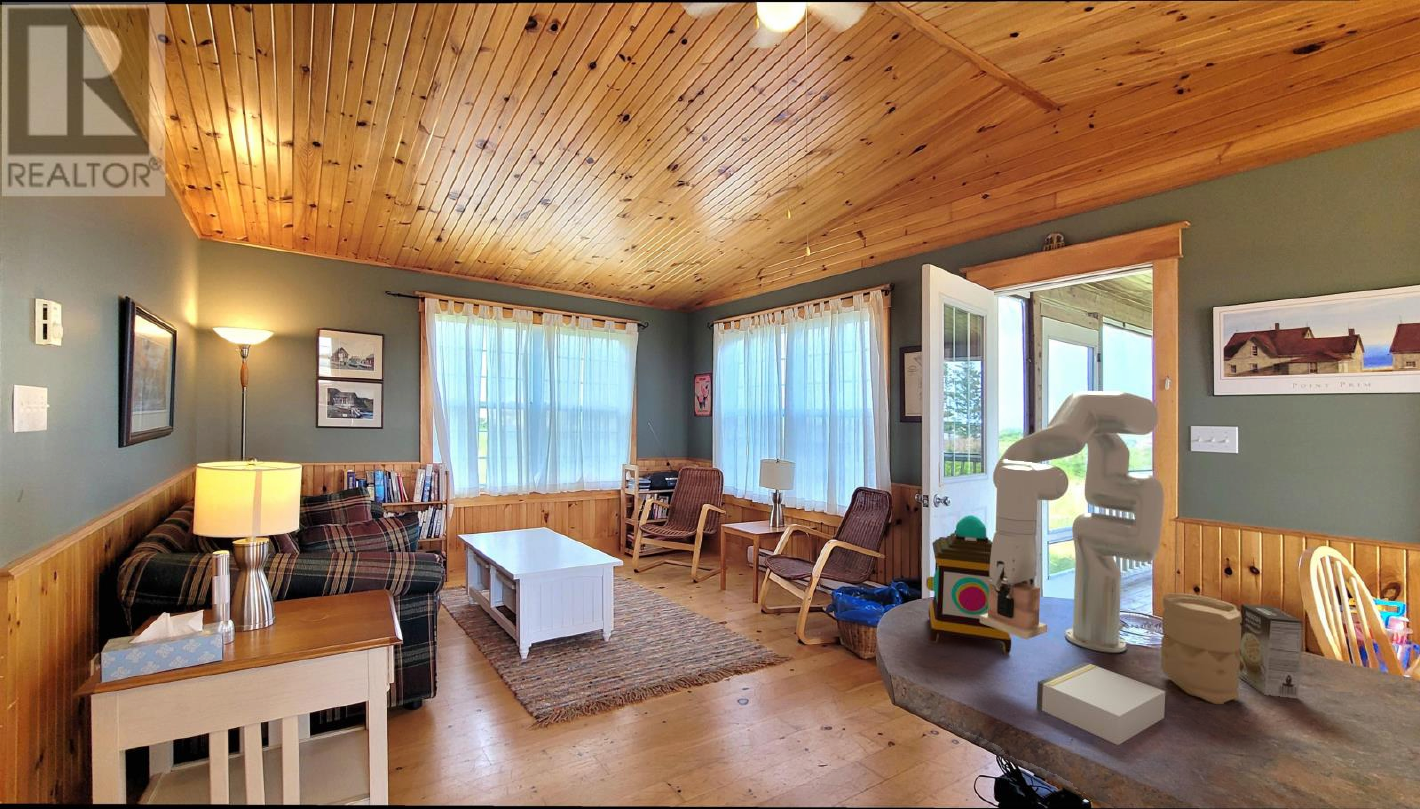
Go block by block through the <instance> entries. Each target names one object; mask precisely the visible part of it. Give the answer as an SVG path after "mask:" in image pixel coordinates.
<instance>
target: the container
mask: <svg viewBox="0 0 1420 809" xmlns="http://www.w3.org/2000/svg"><path fill="white" fill-rule="evenodd" d="M1162 598H1163V599H1162V600H1163V601H1162V602H1163V604H1162V605H1163V608H1164V610H1163V612H1162V621H1161V623H1162V625H1161V627H1162V628H1161V629H1162V633H1163V636H1162V638H1161V643H1160V645H1161V647H1160V648H1161V649H1160V669H1161V671H1162V673H1163V674H1164V675H1165V676H1167V677H1168V678H1169V680H1171V682H1173V683H1174V684H1175V685H1176V686H1178V687H1179V688H1180V689H1181V690H1182V691H1184V692H1185V693H1186V694H1188V695H1190V696H1193V697H1197V698H1200V699H1203V700H1205V701H1206V702H1209V703H1211V704H1213V705H1224V704H1225V703H1228V702H1229V701H1234V702H1238V701H1239V691H1238V688H1239V683H1240V677H1239V667H1240V646H1241V625H1240V623H1241V622H1242V617H1241V611H1239V610H1238V607H1237V606H1236V605H1234V604H1232V603H1230V602H1227V601H1223V600H1219V599H1216V598H1212V597H1207V596H1203V595H1197V594H1189V593H1176V592H1175V593H1174V592H1172V593H1166V594H1163V597H1162Z"/></svg>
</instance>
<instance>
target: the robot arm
mask: <svg viewBox="0 0 1420 809" xmlns="http://www.w3.org/2000/svg"><path fill="white" fill-rule="evenodd" d="M1158 421H1159V411H1158V408H1157V407H1156V404H1155V403H1154V402H1153V401H1152V400H1150V399H1149V398H1147V397H1144V396H1143V397H1142V396H1139V395H1136V394H1133V393H1128V392H1124V391H1106V390H1105V391H1101V390H1099V391H1097V390H1095V391H1091V390H1085V391H1084V390H1083V391H1077V392H1074V393H1071V394H1070V395H1068V397H1067V398H1066V399H1065V400H1064V401H1063V402H1062V404H1061V405H1060V407H1059V408H1058V410H1057V411H1056V413H1055V414H1054V416H1053V417H1052V419H1051V420H1050V422H1049V423H1048V424H1047V426H1046V427H1044V428H1043V429H1040V430H1038V431H1035V432H1033V433H1031V434H1029V435H1027V436H1024V437H1023V438H1021V439H1020V438H1019V439H1018V440H1017V441H1015V442H1013V443H1012V444H1011V445H1009V447H1008V448H1007V449H1005V452H1004V453H1003V455H1002V456H1001V457H1000V459H999V460H998V462H997V464H996V465H995V467H994V470H993V474H992V481H993V484H994V487H995V489H996V501H995V502H996V504H995V505H996V506H995V508H996V510H995V511H996V512H995V532H994V535H993V538H992V541H991V542H992V548H991V557H990V570H989V575H990V578H991V579H992V580H991V585H992V586H993V587H994V588H995V590H996V595H998V599H997V613H998V614H999V615H1002V616H1005V617H1008V618H1013V613H1014V599H1013V598H1012V593H1013V588H1014V584H1016V583H1020V582H1022V583H1025V584H1029V585H1033V584H1034V581H1035V580H1034V579H1035V578H1036V576H1037V568H1038V566H1037V565H1038V564H1037V563H1038V562H1037V560H1038V555H1037V553H1038V552H1037V551H1038V550H1037V549H1038V548H1037V540H1036V539H1037V538H1036V537H1037V525H1038V523H1037V522H1038V521H1037V520H1038V501H1056V500H1058V499H1060V498H1062V497H1063V496H1064V495H1065V494H1066V492H1067V491H1068V488H1069V478H1068V474H1067V473H1066V471H1065V470H1064V469H1062V468H1061V467H1059V466H1056V465H1052V464H1048V463H1047V464H1046V463H1040V462H1046V461H1051V460H1058V459H1063V458H1067V457H1071V456H1074V455H1077V454H1079V453H1080V452H1082V450H1083V449H1084V448H1085V447H1086V444H1087V450H1088V453H1087V454H1088V455H1087V464H1086V474H1085V481H1084V482H1085V483H1084V497H1085V501H1086V503H1088V505H1089V504H1090V506H1093V507H1096V508H1101V509H1106V510H1110V511H1111V510H1112V511H1118V512H1122V513H1123V512H1125V513H1131V514H1133V516H1134V518H1129V517H1121V516H1117V515H1113V514H1111V515H1110V514H1105V513H1099V512H1085V513H1081V514H1079V515H1077V516H1076V517H1075V519H1074V520H1073V523H1072V529H1071V530H1072V539H1073V545H1074V553H1075V555H1074V556H1075V557H1074V558H1075V560H1074V561H1075V564H1074V565H1075V566H1074V567H1075V570H1074V589H1073V591H1074V593H1073V610H1072V611H1073V615H1072V616H1073V617H1072V628H1068V629H1066V630H1065V634H1064V636H1065V638H1066V639H1067V640H1068V641H1069V642H1071V643H1072V644H1075V645H1077V646H1080V647H1082V648H1084V649H1087V650H1092V651H1097V652H1103V653H1114V654H1115V653H1121V652H1125V651H1126V649H1127V643H1126V641H1124V640H1123V639H1121V638H1120V637H1119V636H1120V631H1121V630H1123V629H1124V626H1123V625H1124V624H1123V623H1122V622H1120V618H1121V617H1120V615H1121V614H1120V612H1121V594H1122V593H1121V592H1122V573H1121V570H1120V567H1119V566H1118V564H1117V562H1116V561H1115V559H1114V558H1113V557H1115V558H1121V559H1125V560H1130V561H1135V562H1140V563H1149V562H1151V561H1153V560H1154V559H1156V557H1157V555H1158V551H1159V548H1160V544H1161V543H1160V541H1161V533H1162V523H1163V515H1164V514H1163V513H1164V505H1165V503H1164V502H1165V493H1164V488H1163V484H1162V482H1161V481H1160V480H1159V479H1158V478H1157V477H1156V476H1153V475H1150V474H1145V473H1136V472H1130V471H1129V465H1130V458H1131V457H1130V453H1131V452H1130V449H1129V448H1128V445H1127V444H1126V442H1125V441H1124V440H1123V438H1122V437H1121V434H1122V435H1136V436H1137V435H1139V436H1144V435H1149V434H1150V433H1152V432H1153V431H1154V430H1155V429H1156V427H1157V424H1158ZM1119 434H1120V435H1119ZM1004 578H1006V579H1007V582H1006V581H1003V580H1004ZM1003 584H1006V585H1008V589H1006V588H1005V586H1003Z"/></svg>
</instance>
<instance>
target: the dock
mask: <svg viewBox="0 0 1420 809" xmlns="http://www.w3.org/2000/svg"><path fill="white" fill-rule="evenodd" d="M1036 691H1037V692H1036V693H1037V694H1036V708H1037V709H1038V710H1041V711H1042V712H1044V713H1047V714H1049V715H1051V716H1053V717H1056V718H1057V719H1060V720H1062V721H1064V722H1066V723H1069V724H1071V725H1073V726H1075V727H1078V728H1080V729H1082V730H1084V731H1086V732H1088V733H1091V734H1093V735H1095V736H1097V737H1099V738H1101V739H1104V740H1106V741H1108V742H1110V743H1111V744H1114V745H1117V746H1119V745H1121V744H1122V743H1124V742H1126V741H1128V740H1130V739H1132V738H1133V737H1135V736H1136V735H1138V734H1140V733H1141V732H1143V731H1145V730H1147V729H1149V728H1150V727H1152V726H1153V725H1155V724H1156V723H1159V721H1162V720H1163V719H1165V704H1166V702H1165V701H1166V691H1165V690H1162V689H1160V688H1157V687H1154V686H1151V685H1149V684H1146V683H1143V682H1141V681H1137V680H1135V679H1133V678H1129V677H1127V676H1125V675H1121V674H1120V673H1118V672H1117V673H1116V672H1113V671H1111V670H1108V669H1105V668H1102V667H1100V666H1099V665H1098V666H1097V665H1095V664H1091V663H1088V662H1086V661H1085V662H1082V663H1080V664H1078V665H1075V666H1073V667H1071V668H1068V669H1065V670H1063V671H1061V672H1058V673H1056V674H1054V675H1051V676H1048V677H1046V678H1044V679H1042V680H1039V681H1037V690H1036Z"/></svg>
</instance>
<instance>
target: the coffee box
mask: <svg viewBox="0 0 1420 809" xmlns="http://www.w3.org/2000/svg"><path fill="white" fill-rule="evenodd" d="M1240 613H1241V617H1242V622H1241V623H1240V625H1241V646H1240V667H1239V679H1242V680H1243V681H1245V682H1246V683H1247V684H1249V685H1250V686H1252V687H1253V688H1254V689H1256V690H1257V691H1259V692H1260V693H1261V694H1263V695H1265V696H1269V695H1271V696H1270V697H1278V696H1280V698H1287V697H1289V699H1296V698H1299V697H1300V696H1299V695H1300V683H1301V682H1300V679H1301V667H1302V666H1301V661H1302V647H1303V644H1302V643H1303V632H1304V631H1303V630H1304V621H1303V620H1301V619H1299V618H1297V617H1295V616H1293V615H1291V614H1289V613H1287V612H1285V611H1284V610H1282V609H1280V608H1278V607H1276V606H1273V605H1272V606H1271V605H1259V604H1246V603H1245V604H1244V603H1241V604H1240Z"/></svg>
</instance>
